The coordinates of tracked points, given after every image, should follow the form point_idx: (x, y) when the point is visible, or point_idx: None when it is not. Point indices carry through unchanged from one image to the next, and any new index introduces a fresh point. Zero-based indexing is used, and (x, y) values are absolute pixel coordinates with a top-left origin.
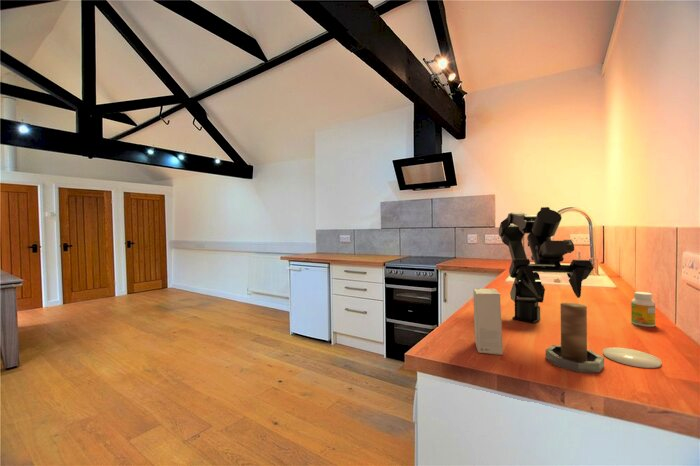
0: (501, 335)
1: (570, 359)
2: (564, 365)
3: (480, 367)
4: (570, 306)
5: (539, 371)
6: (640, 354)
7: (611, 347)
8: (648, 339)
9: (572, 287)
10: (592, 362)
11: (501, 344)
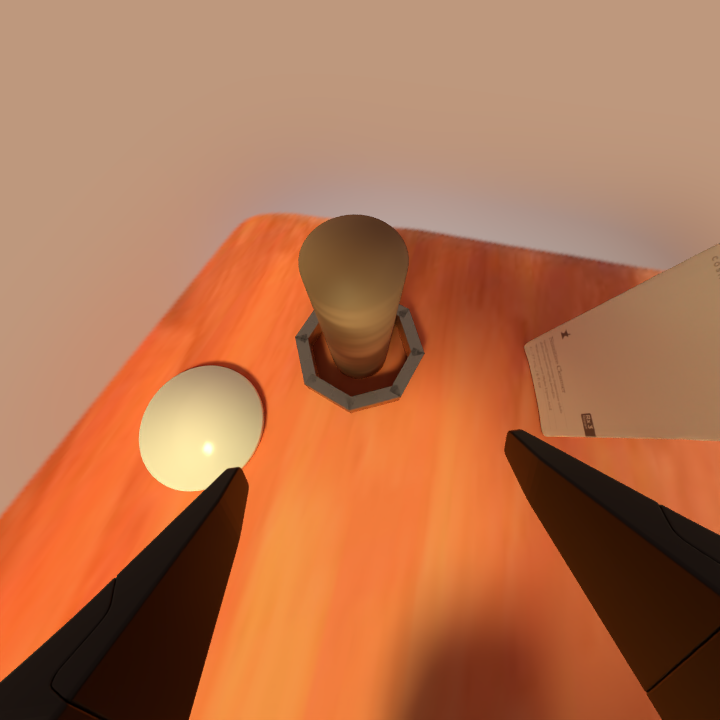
0: (563, 324)
1: None
2: None
3: (562, 266)
4: (373, 233)
5: (444, 282)
6: (167, 443)
7: None
8: (14, 666)
9: (201, 654)
10: None
11: (544, 333)
